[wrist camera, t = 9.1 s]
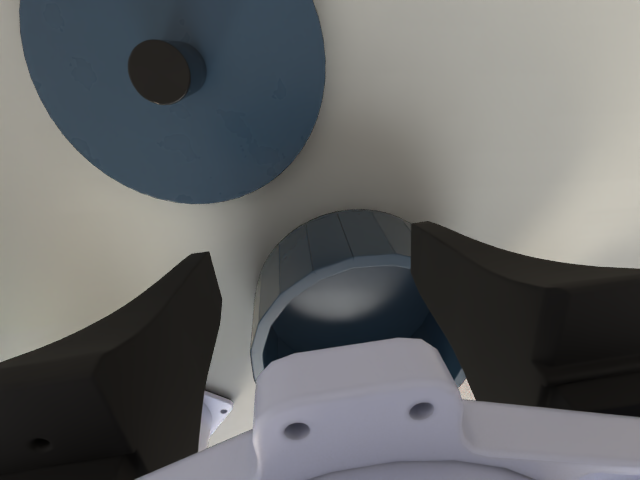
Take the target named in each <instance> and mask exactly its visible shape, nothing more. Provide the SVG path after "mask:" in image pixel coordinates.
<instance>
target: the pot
mask: <svg viewBox="0 0 640 480" xmlns="http://www.w3.org/2000/svg"><path fill="white" fill-rule="evenodd" d="M392 338H413V339H422V340H423V341H425V342H427V343H428V344H430V345H431V346H433V347H434V348H436V349H437V350H438V352H439V354H440V355H441V357H442V359H443V361H444V363H445V365H446V367H447V368H448V370H449V372H450V374H451V376H452V378H453V380H454V381H455V383H456V385H457V387H460V386H461V384H462V383H463V382H464V380H465V379H466V376H465V374H464V372H463V369H462V367H461V365H460V363H459V361H458V359H457V357H456V355H455V352H454V350H453V348H452V347H451V345H450V343H449V341H448V339H447V338H446V336H445V334H444V333H443V331H442V330H441V328H440V326H439V325H438V323H437V322H436V320H435V318H434V317H433V315H432V314H431V312H430V310H429V309H428V307H427V305H426V304H425V302H424V300H423V299H422V297H421V295H420V294H419V291H418V289H417V287H416V285H415V282H414V280H413V277H412V275H411V223H409V222H407V221H405V220H403V219H402V218H399V217H397V216H394V215H391V214H388V213H384V212H380V211H374V210H365V209H360V210H345V211H338V212H333V213H330V214H326V215H323V216H320V217H318V218H315V219H313V220H310V221H309V222H307V223H305V224H303V225H301V226H299V227H298V228H296V229H295V230H294V231H292V232H291V233H290V234H288V235H287V236H286V237H285V238H284V239H283V240H282V241H281V242H280V243H279V244H278V245H277V246H276V247H275V249H274V250H273V251H272V252H271V253H270V255H269V257H268V258H267V260H266V262H265V263H264V266H263V268H262V270H261V273H260V276H259V280H258V284H257V289H256V293H255V301H254V313H253V324H252V335H251V346H250V356H251V364H252V371H253V378H254V381H255V383H256V382H257V377H258V376H259V375H260V373H261V372H262V371H263V370H264V369H265V368H266V367H267V366H268V365H269V364H270V363H271V362H272V361H275V360H278V359H280V358H283V357H286V356H289V355H291V354H294V353H300V352H307V351H313V350H320V349H326V348H333V347H340V346H346V345H353V344H359V343H366V342H373V341H379V340H386V339H392Z"/></svg>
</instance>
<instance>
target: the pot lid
mask: <svg viewBox="0 0 640 480" xmlns="http://www.w3.org/2000/svg"><path fill="white" fill-rule="evenodd" d="M19 14H20V34H21V40H22V45H23V51H24V56H25V60H26V63H27V66H28V70H29V73H30V76H31V79H32V81H33V84H34V86H35V88H36V90H37V93H38V95H39V97H40V99H41V101H42V103H43V105H44V106H45V108H46V110H47V112H48V113H49V115H50V117H51V118H52V120H53V121H54V122H55V124H56V125H57V127H58V128H59V129H60V131H61V132H62V134H63V135H64V136H65V137H66V138H67V139H68V141H69V142H70V143H71V144H72V145H73V146H74V147H75V148H76V150H77V151H79V152H80V153H81V154H82V155H83V156H84V157H85V158H86V159H87V160H88V161H89V162H91V163H92V164H93V165H94V166H96V167H97V168H98V169H100V170H101V171H102V172H104V173H105V174H106V175H108V176H109V177H111V178H113V179H114V180H116V181H118V182H119V183H121V184H123V185H125V186H127V187H129V188H131V189H133V190H136V191H138V192H140V193H143V194H146V195H148V196H151V197H154V198H157V199H162V200H166V201H171V202H177V203H187V204H210V203H217V202H224V201H228V200H231V199H235V198H239V197H242V196H244V195H246V194H249V193H251V192H254V191H256V190H257V189H259V188H261V187H263V186H264V185H266V184H268V183H269V182H270V181H272V180H273V179H274V178H276V177H277V176H278V175H280V174H281V173H282V172H283V171H284V170H285V169H286V168H287V167H288V166H289V165H290V164H291V163H292V162H293V160H294V159H295V158H296V156H297V155H298V154H299V152H300V151H301V150H302V148H303V147H304V145H305V143H306V141H307V140H308V138H309V136H310V134H311V132H312V130H313V127H314V125H315V123H316V120H317V118H318V114H319V110H320V107H321V103H322V99H323V92H324V85H325V62H326V61H325V50H324V40H323V35H322V31H321V26H320V21H319V18H318V15H317V12H316V9H315V6H314V3H313V0H20V9H19Z"/></svg>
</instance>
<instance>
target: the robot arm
mask: <svg viewBox="0 0 640 480" xmlns="http://www.w3.org/2000/svg"><path fill="white" fill-rule="evenodd" d="M411 275H412V277H413V280H414V282H415V285H416V287H417V289H418V291H419V294H420V295H421V297H422V299H423V300H424V302H425V304H426V305H427V307H428V309H429V310H430V312H431V314H432V315H433V317H434V318H435V320H436V322H437V323H438V325H439V326H440V328H441V330H442V331H443V333H444V334H445V336H446V338H447V339H448V341H449V343H450V345H451V347H452V348H453V350H454V352H455V355H456V357H457V359H458V361H459V363H460V365H461V367H462V369H463V372H464V374H465V376H466V378H467V381H468V383H469V385H470V388H471V390H472V392H473V394H474V397H475V399H476V401H474V400H464V399H462V398H461V395H460V391H459V389H458V387H457V385H456V383H455V381H454V380H453V378H452V376H451V374H450V372H449V370H448V368H447V367H446V365H445V363H444V361H443V359H442V357H441V355H440V354H439V352H438V350H437V349H436V348H434V347H433V346H431V345H430V344H428V343H427V342H425V341H423V340H422V339H413V338H392V339H386V340H379V341H373V342H366V343H359V344H353V345H346V346H340V347H333V348H326V349H320V350H313V351H307V352H300V353H294V354H291V355H289V356H286V357H283V358H280V359H278V360H275V361H272V362H271V363H270V364H269V365H268V366H267V367H266V368H265V369H264V370H263V371H262V372H261V373H260V375H259V376H258V377H257V382H256V391H255V403H254V419H253V429H251V430H249V431H247V432H244V433H242V434H240V435H237V436H235V437H233V438H230V439H228V440H226V441H223V442H221V443H219V444H216V445H214V446H212V447H209V448H208V443H209V438H210V436H211V435H212V434H213V433H214V431H215V430H216V429H217V428H218V426H219V425H220V424H221V423H222V421H223V420H224V419H225V418H226V416H227V415H228V414H229V413H230V411H231V410H232V409H233V402H232V401H231V400H229V399H226V398H223V397H221V396H218V395H215V394H212V393H210V392H207V391H205V385H206V380H207V375H208V371H209V367H210V363H211V359H212V355H213V351H214V347H215V343H216V339H217V334H218V330H219V326H220V319H221V308H222V297H221V293H220V289H219V286H218V282H217V278H216V275H215V271H214V267H213V264H212V260H211V256H210V253H209V252H202V253H194V254H191V255H189V256H188V257H186V258H185V259H184V260H183V261H181V262H180V263H179V264H178V265H177V266H175V267H174V268H173V269H172V270H171V271H169V272H168V273H167V274H166V275H165V276H164V277H162V278H161V279H160V280H159V281H157V282H156V283H155V284H154V285H152V286H151V287H150V288H148V289H147V290H146V291H144V292H143V293H142V294H140V295H139V296H138V297H136V298H135V299H134V300H132V301H131V302H129V303H128V304H126V305H125V306H123V307H121V308H120V309H118V310H117V311H115V312H113V313H112V314H110V315H108V316H107V317H105V318H103V319H101V320H99V321H97V322H95V323H93V324H92V325H90V326H88V327H86V328H84V329H82V330H80V331H78V332H76V333H74V334H72V335H69V336H67V337H65V338H63V339H61V340H58V341H56V342H53V343H51V344H49V345H46V346H44V347H41V348H39V349H36V350H34V351H31V352H28V353H25V354H22V355H20V356H17V357H14V358H11V359H9V360H6V361H3V362H0V480H640V269H634V268H613V267H596V266H586V265H577V264H569V263H562V262H555V261H550V260H544V259H539V258H534V257H529V256H525V255H521V254H517V253H514V252H510V251H506V250H503V249H500V248H496V247H494V246H491V245H488V244H485V243H482V242H479V241H477V240H474V239H472V238H469V237H467V236H464V235H462V234H459V233H457V232H455V231H452V230H450V229H448V228H445V227H443V226H440V225H438V224H435V223H432V222H429V221H426V222H419V223H412V224H411ZM224 409H225V410H224Z"/></svg>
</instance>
